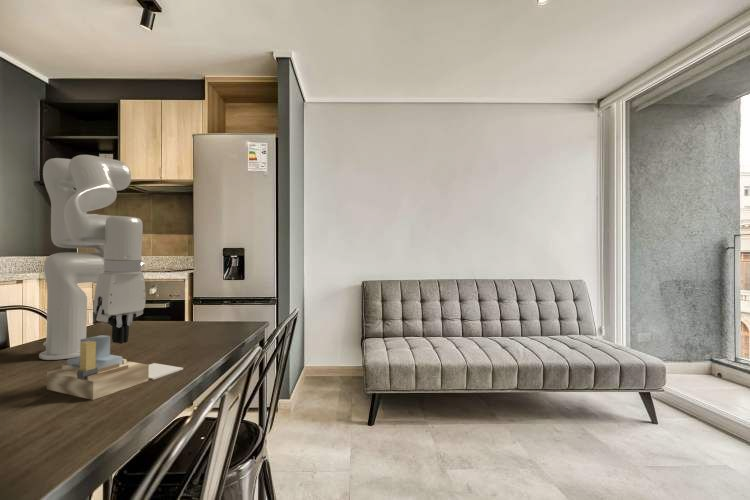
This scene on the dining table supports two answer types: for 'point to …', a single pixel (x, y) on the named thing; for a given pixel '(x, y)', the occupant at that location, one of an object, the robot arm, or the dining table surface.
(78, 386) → the tan box base
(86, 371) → the latch
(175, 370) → the mat
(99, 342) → the cover
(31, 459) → the dining table surface
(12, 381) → the dining table surface
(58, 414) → the dining table surface
